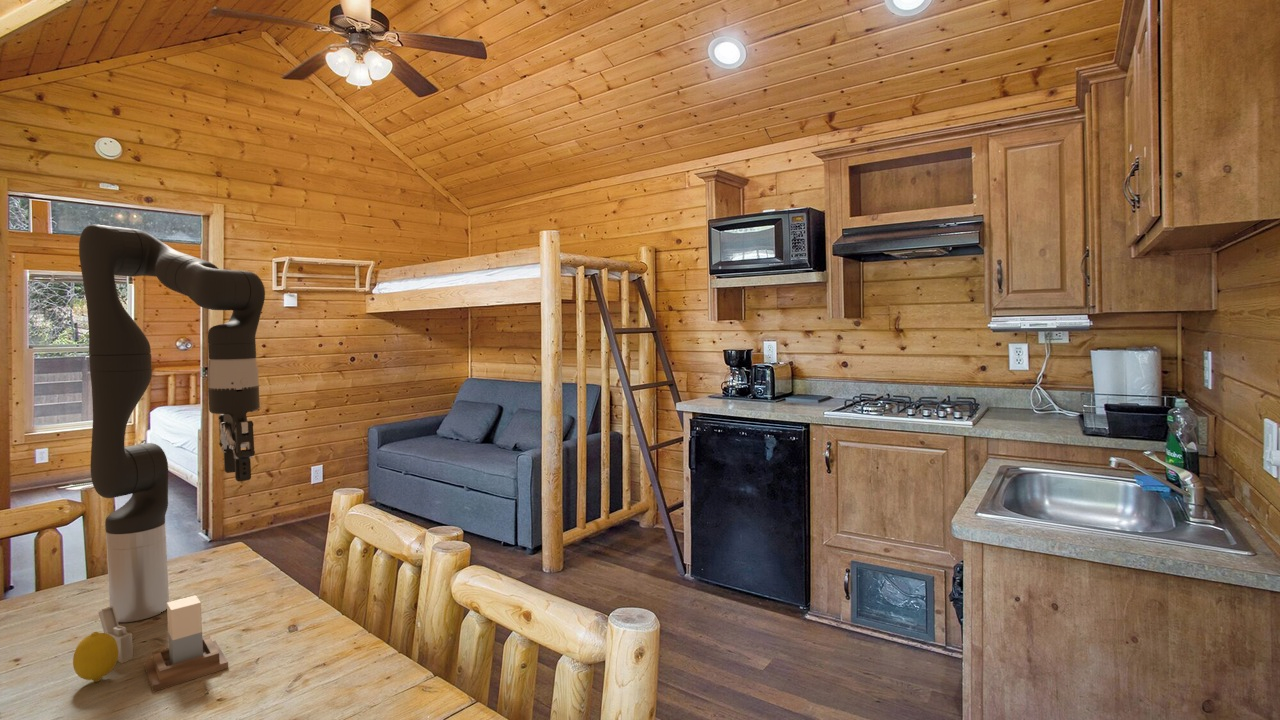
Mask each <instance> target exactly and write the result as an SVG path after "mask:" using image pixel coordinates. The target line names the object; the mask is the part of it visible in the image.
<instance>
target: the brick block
mask: <svg viewBox="0 0 1280 720" xmlns="http://www.w3.org/2000/svg"><path fill="white" fill-rule="evenodd" d="M166 612H167V613H166V614H167V632H168V633H167V634H168V635H167V637H168V648H169V659H170V663H171V665H173V664H176V663H179V662H183V661H186V660H189V659H193V658H196V657H199V656H203V639H202V638H203V623H202V619H203V617H202V603H201V601H200V599H199V598H198V596H197V595H195V594H194V595H191V596H187V597H184V598H180V599H179V598H178V599H175V600H171V601H169V602H167V610H166Z"/></svg>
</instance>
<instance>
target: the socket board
mask: <svg viewBox="0 0 1280 720" xmlns="http://www.w3.org/2000/svg"><path fill="white" fill-rule="evenodd" d="M202 639H203V656H199V657H196V658H193V659H189V660H186V661H183V662H179V663H176V664H173V665H171V663H170V659H169V647H167V648H163V649H160V650H156V651H153V652H151V654H152V658H150V659H146V660H145V661H144V662H143V663H144V669H145V672H146V676H147V678H148V681H149V684H150V687H151V689H152V693H154V692H157V691H159V690H160V691H161V690H162V689H166V688H169V687H172V686H177V685H179V684H182V683H185V682H188V681H192V680H195V679H198V678H201V677H204V676H207V675H210V674H213V673H216V672H219V671H222V670H227V669H229V661H228V660H227V658H226V657H225V655H224V653H223V651H222V649H221V647H220V646H219V644H218V641H216V640H212V638H211V637H210V636H205V637H202Z"/></svg>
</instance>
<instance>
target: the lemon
mask: <svg viewBox="0 0 1280 720" xmlns="http://www.w3.org/2000/svg"><path fill="white" fill-rule="evenodd" d="M118 655H119V651H118V646H117V643H116V641H115V639H114V638H113V637H112V636H111V635H109V634H106V633H104V632H98V631H94V632H92V633H90V634H89V635H88V636H85V637H84V638H83V639H82V640H81V641H80V642H79V643H78V644H77V646H76V648H75V650H74V653H73V659H72V666H73V667H72V668H73V669H74V672H75V674H76V675H77V676H78V677H79V678H81V679H84V680H87V681H93V682H97V683H98V682H99V681H101V680H102V679H103V677H105V676H107V675H108V674H109V673H111V671H113V669H114V668H115V666H116V665H117V663H118V661H117V660H118Z"/></svg>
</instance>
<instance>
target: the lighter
mask: <svg viewBox="0 0 1280 720" xmlns="http://www.w3.org/2000/svg"><path fill="white" fill-rule="evenodd" d="M98 616H99V619H100V623H101V628H102V631H103V633H106V634H109V635H111V636H112V637H113V638H114V639H115V641H116V643H117V646H118V651H119V655H118V660H117V662H118V661H119V662H118V663H121V664H123V663H125V662H127V661H130V660H133V659H134V651H133V650H134V648H133V633H131V632H128V631H127V627H126V626H123V625H119V622H118V620H117V617H116V613H115V610H114V607H113V606H111V607H110V606H109V607H106V608H103V609H101V610H99V611H98Z"/></svg>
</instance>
